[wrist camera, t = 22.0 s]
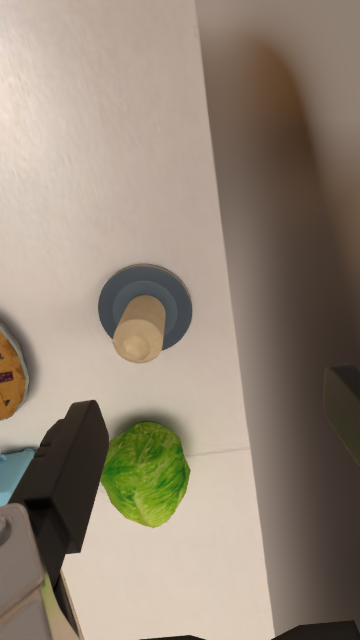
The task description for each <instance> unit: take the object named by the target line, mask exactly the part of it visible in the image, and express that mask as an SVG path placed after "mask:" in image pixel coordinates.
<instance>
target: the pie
mask: <svg viewBox="0 0 360 640" xmlns="http://www.w3.org/2000/svg"><path fill="white" fill-rule="evenodd" d="M28 384H29V375H28V372H27V365H26V362H25V359H24V356H23V353H22V350H21V347H20V344H19V343H18V341H17V340H16V339H15V338H14V336H13V335H12V334H11V332H10V331H9V330H8V328H7V327H6V326H5V324H4V323H3V322H2V321H0V421H1V420H4V419H7V418H9V417H11V416H12V415H13V414H14V413H15V412H16V411H17V410H18V409H19V408H20V407H21V406H22V405H23V403H24V402H25V401H26V399H27V392H28Z"/></svg>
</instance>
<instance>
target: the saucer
mask: <svg viewBox="0 0 360 640" xmlns="http://www.w3.org/2000/svg"><path fill="white" fill-rule="evenodd" d="M140 295H150V296H153V297H155V298H157V299H158V300H159V301H160V302H161V303H162V304H163V306H164V308H165V313H166V318H165V327H164V337H163V346H162V349H161V351H162V350H165V349H167V348H169V347H171V346H173V345H174V344H176V343H177V342H178V341H179V340H180V339H181V338H182V337H183V336H184V334H185V333H186V331H187V329H188V327H189V325H190V322H191V317H192V304H191V299H190V295H189V293H188V290H187V289H186V287H185V285H184V284H183V283H182V281H181V280H180V279H179V278H178V277H177V276H176V275H174V274H173V273H172V272H170V271H168V270H167V269H165V268H162V267H160V266H156V265H151V264H136V265H132V266H128V267H126V268H123V269H122V270H120V271H118V272H117V273H116V274H114V275H113V276H112V277H111V278H110V279H109V280H108V282H107V283H106V284H105V286H104V288H103V289H102V291H101V294H100V297H99V303H98V311H99V317H100V320H101V323H102V325H103V327H104V329H105V331H106V332H107V334H108V335H109V336H110V337H111V338H112V339H113V337H114V333H115V331H116V328H117V326H118V324H119V322H120V320H121V318H122V316H123V313H124V311H125V309H126V307H127V305H128V304H129V302H130V301H131V300H132V299H134V298H135V297H137V296H140Z"/></svg>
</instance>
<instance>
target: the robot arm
mask: <svg viewBox="0 0 360 640" xmlns="http://www.w3.org/2000/svg"><path fill="white" fill-rule="evenodd" d="M323 403H324V404H323V405H324V411H325V414H326V417H327V419H328V421H329V423H330V424H331V426H332V427H333V429H334V430H335V432H336V433H337V435H338V436H339V437H340V439H341V441H342V442H343V444H344V445H345V447H346V448H347V449H348V451H349V453H350V454H351V456H352V457H353V458H354V460H355V461H356V463H357V465H358V466H359V468H360V371H359V370H358V369H357V368H356V367H355V366H354V365H352V364H343V365H337V366H329V367H326V368H325V372H324V399H323ZM108 450H109V435H108V431H107V428H106V425H105V422H104V419H103V417H102V414H101V411H100V408H99V405H98V403H97V402H96V401H95V400H89V401H83V402H76V403H73V404H72V405H71V406H70V408H69V410H68V412H67V414H66V416H65V418H64V419H60V420H58V421H57V422H56V423H55V424H54V425H53V426H52V427H51V428H50V429H49V430H48V431H47V433H46V434H45V436H44V438H43V440H42V442H41V443H40V447H38V449H37V451H36V452H35V454H34V458H33V459H32V460H31V461H30V463H29V465H28V467H27V469H26V470H25V472H24V474H23V476H22V478H21V479H20V481H19V483H18V485H17V487H16V488H15V490H14V492H13V494H12V496H11V497H10V499H9V501H8V503H7V504H6V505H3V506H1V507H0V640H84V637H83V634H82V630H81V627H80V624H79V621H78V618H77V615H76V612H75V609H74V605H73V602H72V599H71V596H70V593H69V590H68V587H67V584H66V580H65V577H64V574H63V572H62V570H61V567H62V564H63V560H64V557H65V554H72V553H80V552H81V548H82V545H83V541H84V537H85V534H86V530H87V526H88V523H89V519H90V515H91V512H92V508H93V505H94V501H95V497H96V494H97V490H98V486H99V483H100V479H101V475H102V472H103V468H104V464H105V461H106V457H107V454H108ZM141 640H205V639H202V638H198V637H195V636H191V635H185V636H174V637H163V638H152V639H141ZM271 640H360V634H359V631H358V629H357V626H356V624H355V621H354V620H353V621H341V622H331V623H319V624H308V625H299V626H297V627H295V628H293V629H291V630H289V631H287V632H285V633H283V634H281V635H279V636H277V637H275V638H273V639H271Z"/></svg>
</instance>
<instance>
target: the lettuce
mask: <svg viewBox="0 0 360 640" xmlns="http://www.w3.org/2000/svg"><path fill="white" fill-rule="evenodd" d="M189 475H190V468H189V466H188V464H187V462H186V459H185V457H184V454H183V449H182V446H181V442H180V439H179V437H178V436H177V435H176V434H175V433H174V432H173V431H172V430H171V429H169V428H167V427H164V426H162V425H160V424H158V423H154V422H143V423H138V424H136V425H134V426H132V427H130V428H129V429H128V430H126V431H125V432H123V433H122V434H120V435H118V436H117V437H115V438H114V439H112V440H111V441H110V442H109V450H108V454H107V457H106V461H105V464H104V468H103V472H102V475H101V479H100V482H101V483H102V485H103V486H104V488H105V490H106V492H107V494H108V497H109V499H110V501H111V503H112V504H113V505H114V506H115V507H116V509H117V510H118V511H119V512H120V513H121V514H122V515H123V516H124V517H125V518H127V519H130V520H132V521H134V522H137V523H139V524H142V525H144V526H148V527H152V528H155V527H158V526H160V525H162V524H164V523H165V522H167V521H168V520H169V519H170V517H171V516H172V515H173V514H174V512H175V510H176V509H177V507H178V505H179V504H180V502H181V500H182V498H183V497H184V495H185V493H186V489H187V485H188V480H189Z"/></svg>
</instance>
